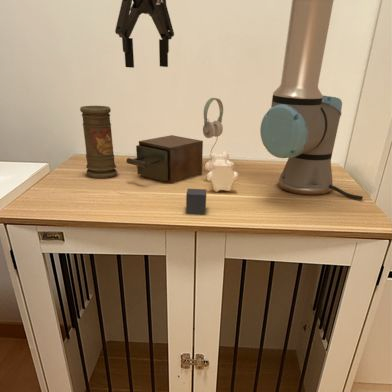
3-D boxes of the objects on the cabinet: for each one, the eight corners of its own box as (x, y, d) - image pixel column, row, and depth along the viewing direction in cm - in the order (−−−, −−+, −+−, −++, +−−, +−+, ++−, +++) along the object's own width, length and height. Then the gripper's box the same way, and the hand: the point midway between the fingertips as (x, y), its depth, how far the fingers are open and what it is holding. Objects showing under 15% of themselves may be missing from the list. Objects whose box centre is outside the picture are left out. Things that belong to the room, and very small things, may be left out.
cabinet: (170, 183, 119) (170, 147, 114) (140, 175, 125) (138, 141, 120) (201, 174, 128) (203, 140, 123) (172, 167, 135) (171, 135, 129)
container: (80, 175, 123) (71, 107, 113) (99, 169, 130) (92, 104, 119) (104, 180, 120) (97, 110, 109) (123, 173, 126) (117, 106, 116)
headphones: (214, 165, 138) (217, 96, 126) (223, 167, 136) (227, 97, 124) (198, 169, 133) (200, 98, 121) (207, 172, 131) (210, 99, 119)
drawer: (150, 185, 114) (149, 155, 109) (122, 177, 120) (120, 148, 115) (194, 172, 126) (195, 145, 122) (167, 166, 132) (167, 139, 127)
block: (205, 208, 102) (206, 189, 99) (205, 214, 99) (205, 194, 96) (187, 207, 102) (187, 188, 100) (186, 213, 99) (186, 194, 96)
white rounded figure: (237, 193, 113) (240, 162, 108) (206, 193, 113) (207, 161, 108) (232, 179, 125) (234, 150, 120) (203, 178, 125) (204, 149, 120)
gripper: (166, -26, 115) (167, 65, 128) (95, -39, 99) (105, 66, 112) (186, -28, 111) (185, 67, 124) (116, -42, 96) (123, 68, 108)
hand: (147, 67), depth 118 cm, fingers open, 13 cm apart
